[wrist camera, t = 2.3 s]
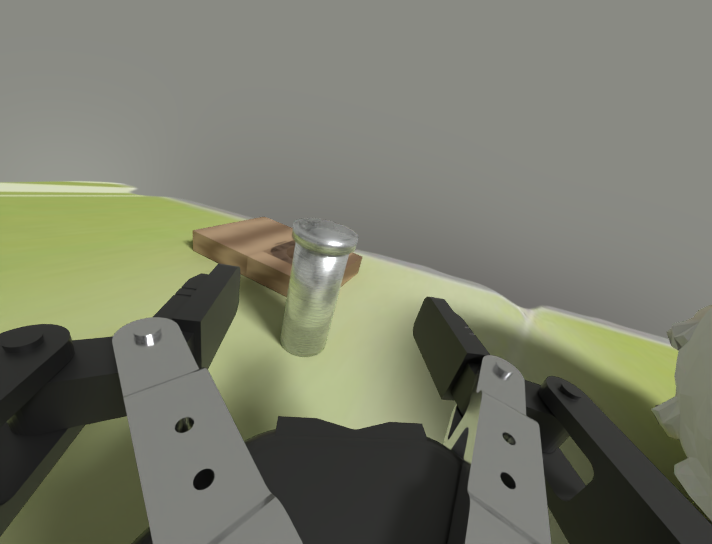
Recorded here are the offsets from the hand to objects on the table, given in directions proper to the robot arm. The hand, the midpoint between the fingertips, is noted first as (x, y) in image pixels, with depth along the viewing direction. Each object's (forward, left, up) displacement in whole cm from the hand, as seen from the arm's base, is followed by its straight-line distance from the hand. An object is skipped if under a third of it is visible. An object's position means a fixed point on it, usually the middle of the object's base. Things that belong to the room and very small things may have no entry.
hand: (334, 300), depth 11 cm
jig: (-18, +22, -13) cm, 31 cm away
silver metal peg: (-6, +10, -13) cm, 17 cm away
